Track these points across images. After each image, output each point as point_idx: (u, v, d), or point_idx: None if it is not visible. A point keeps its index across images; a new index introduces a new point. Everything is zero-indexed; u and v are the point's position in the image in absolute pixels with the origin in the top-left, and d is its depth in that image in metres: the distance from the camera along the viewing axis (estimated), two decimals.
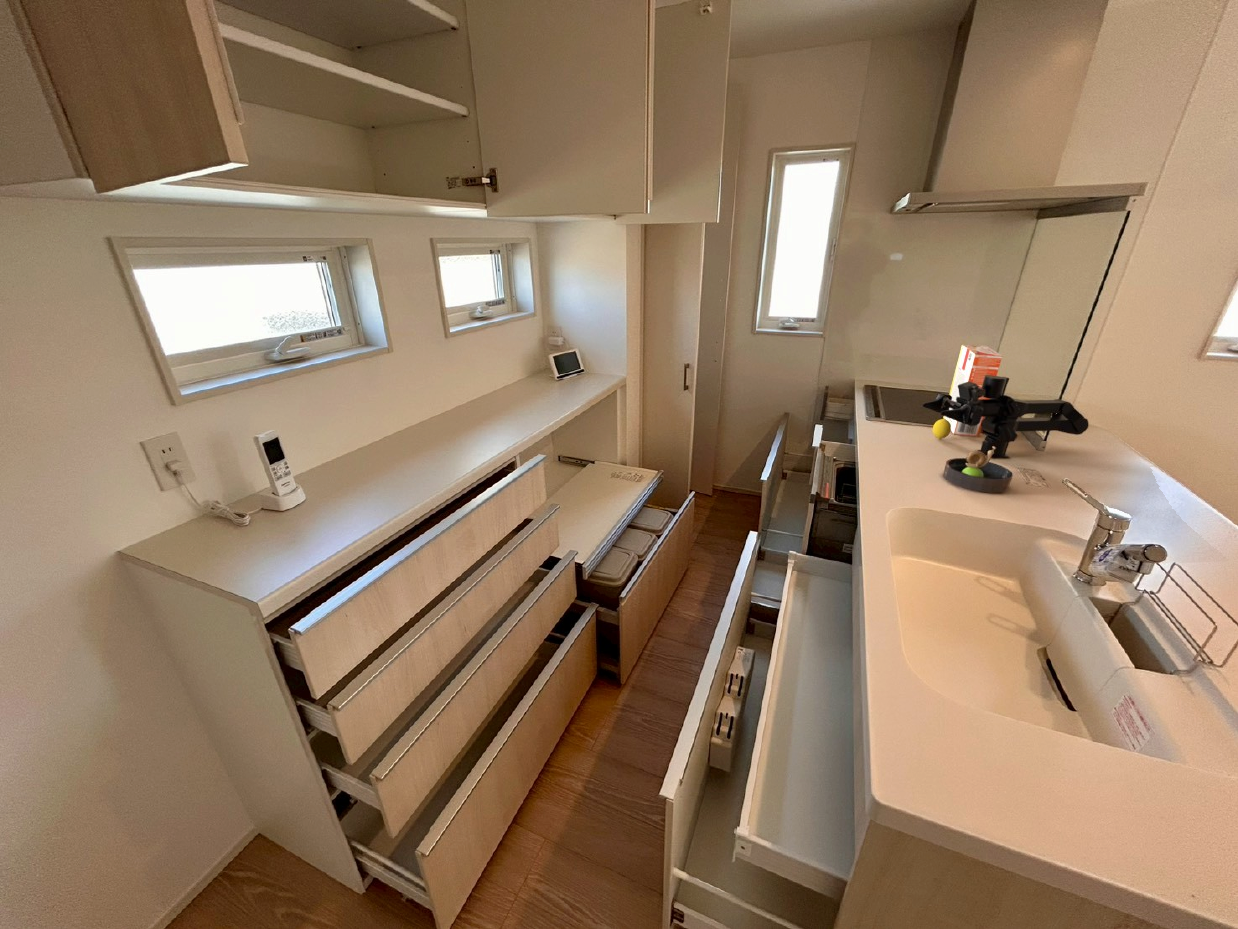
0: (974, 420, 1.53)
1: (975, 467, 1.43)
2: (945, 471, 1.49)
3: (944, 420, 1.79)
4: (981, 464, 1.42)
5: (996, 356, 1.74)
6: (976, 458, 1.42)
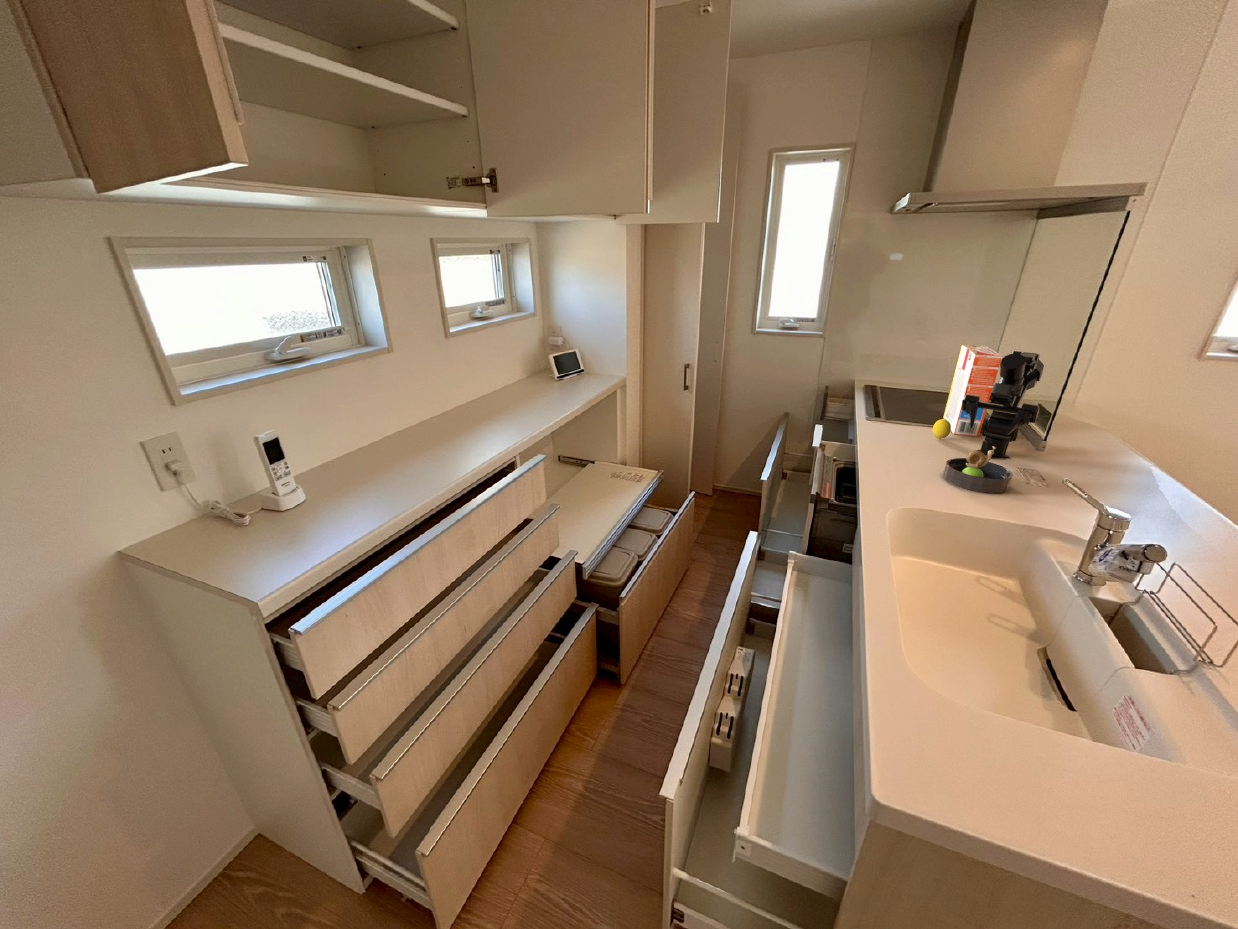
0: (1036, 418, 1.45)
1: (975, 467, 1.43)
2: (945, 471, 1.49)
3: (944, 420, 1.79)
4: (981, 464, 1.42)
5: (996, 356, 1.74)
6: (976, 458, 1.42)
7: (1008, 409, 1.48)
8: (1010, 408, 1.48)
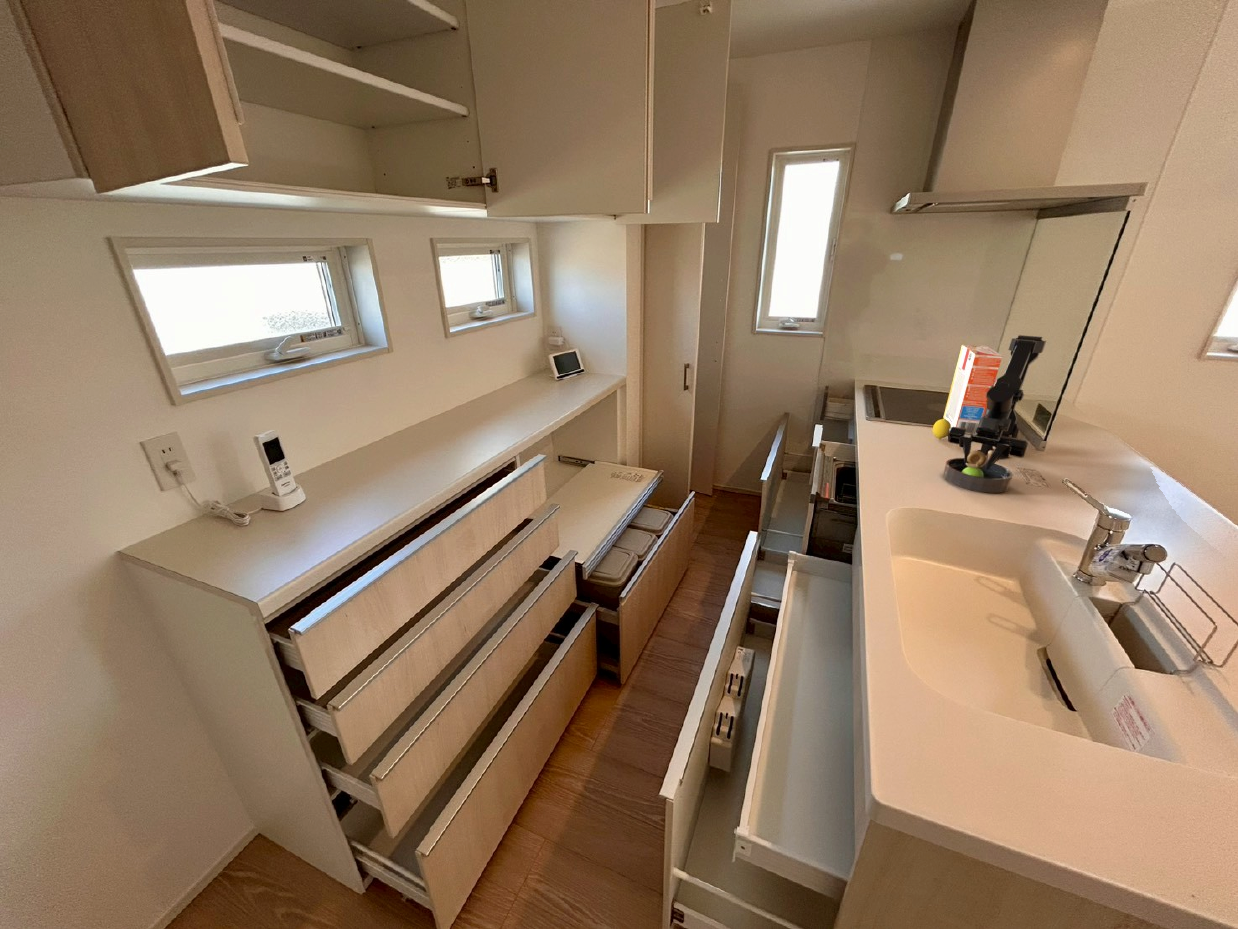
0: (1024, 453, 1.38)
1: (975, 467, 1.43)
2: (945, 471, 1.49)
3: (944, 420, 1.79)
4: (981, 464, 1.42)
5: (996, 356, 1.74)
6: (976, 458, 1.42)
7: (995, 443, 1.42)
8: (997, 442, 1.42)
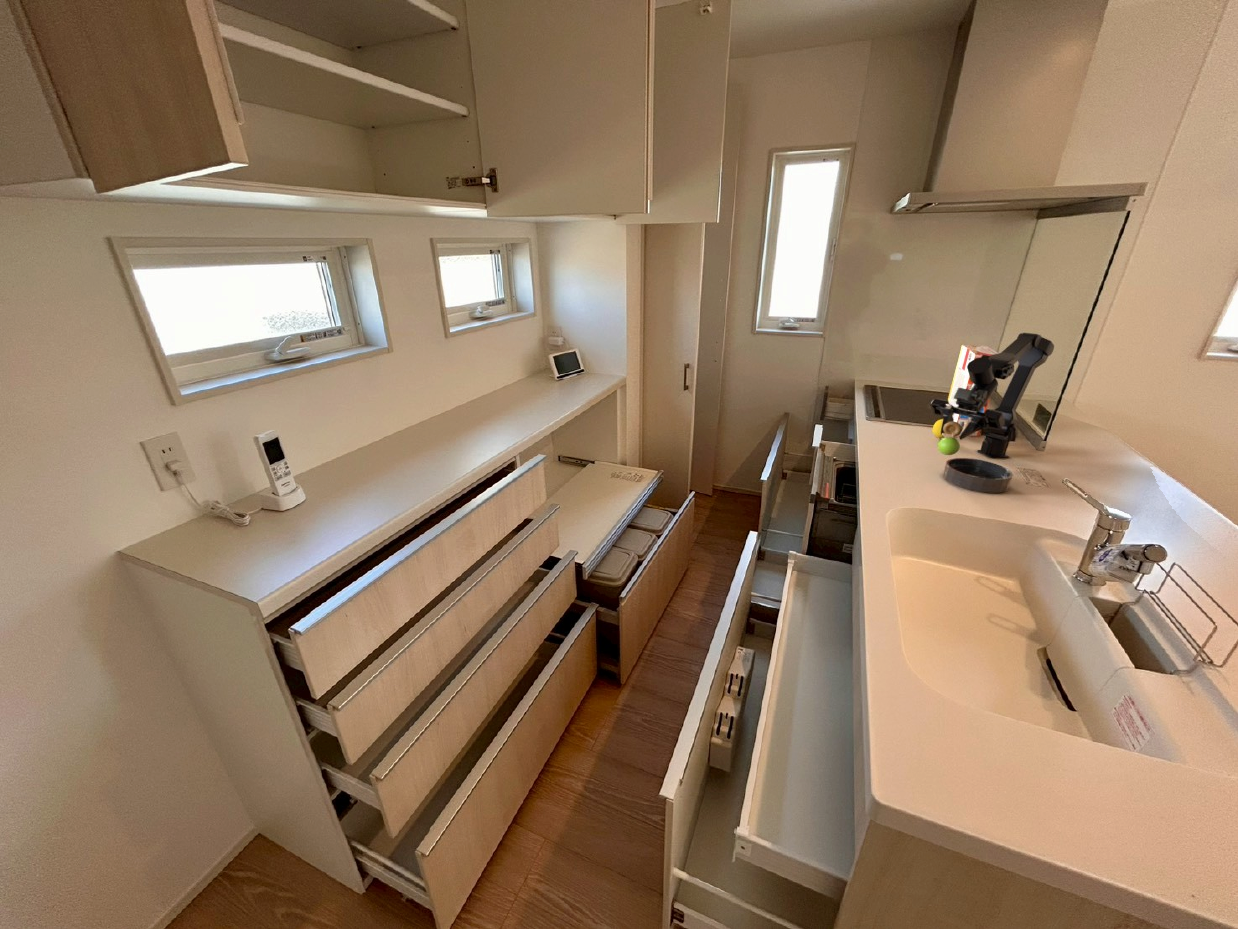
0: (1001, 425, 1.40)
1: (951, 437, 1.47)
2: (945, 471, 1.49)
3: None
4: (957, 434, 1.46)
5: None
6: (952, 428, 1.46)
7: (974, 414, 1.45)
8: (976, 414, 1.44)
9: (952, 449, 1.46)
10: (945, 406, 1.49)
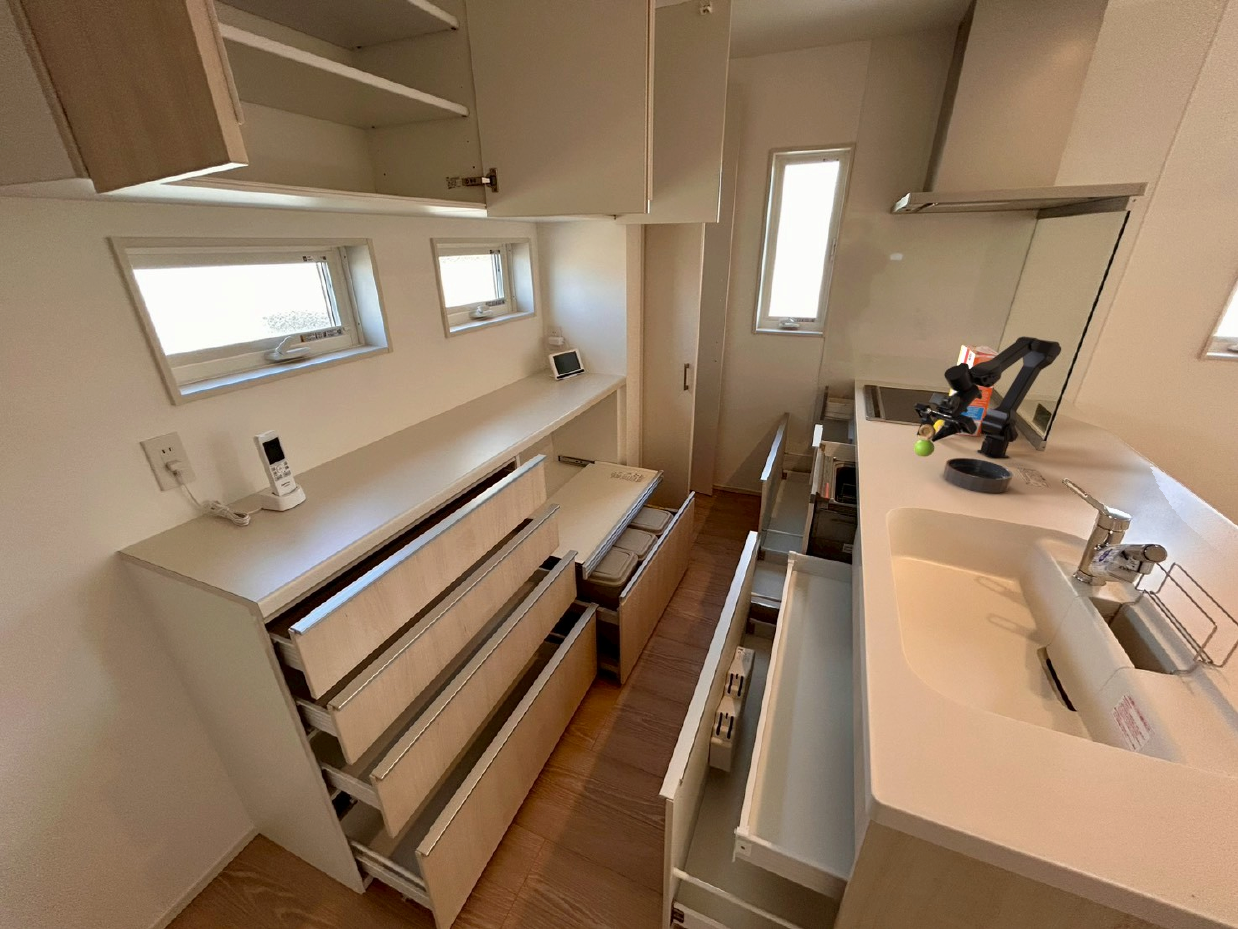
0: (971, 430, 1.46)
1: (925, 439, 1.55)
2: (945, 471, 1.49)
3: None
4: (931, 437, 1.53)
5: None
6: (927, 431, 1.54)
7: (949, 419, 1.51)
8: (951, 418, 1.51)
9: (924, 451, 1.54)
10: (925, 410, 1.57)
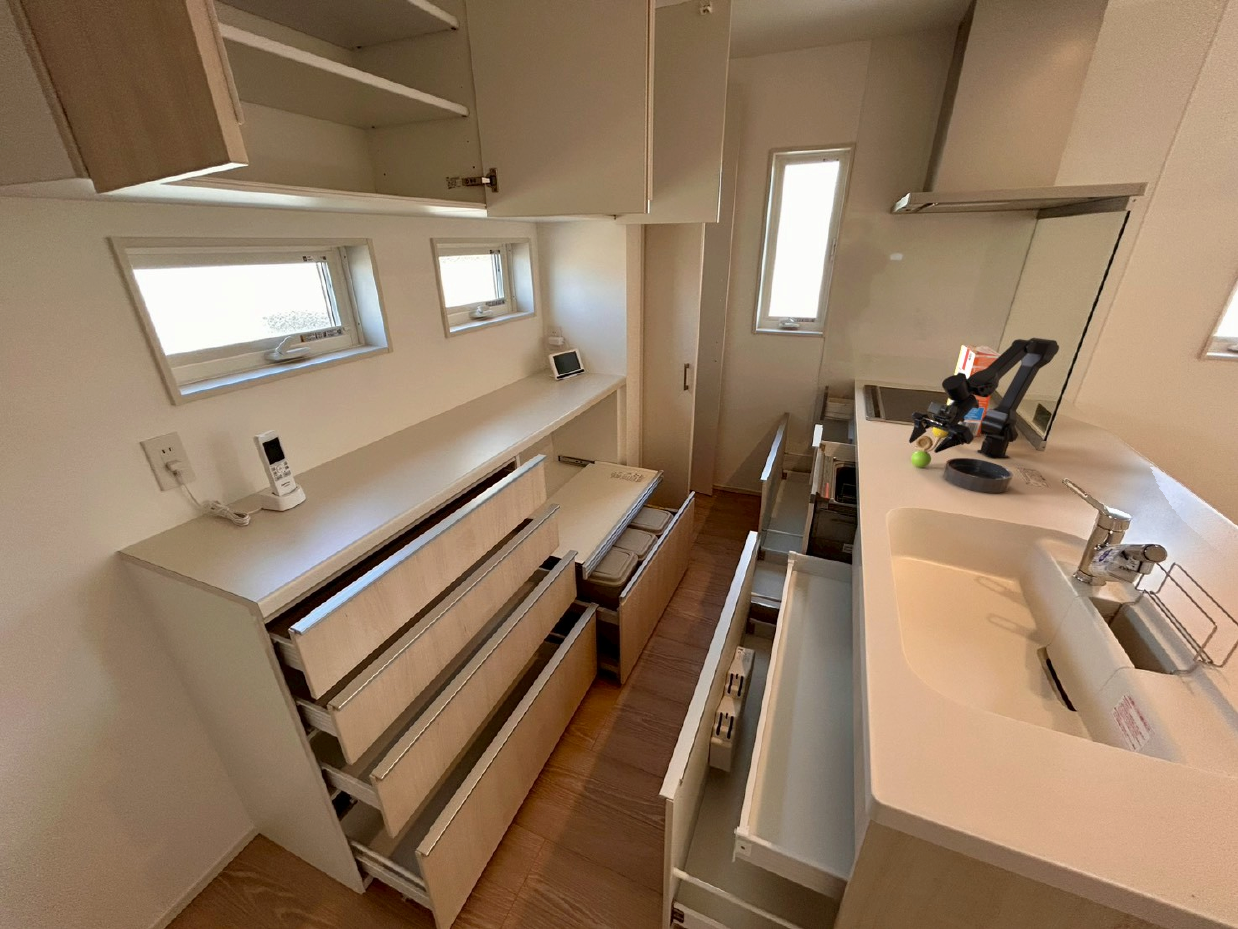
0: (968, 440, 1.47)
1: (922, 451, 1.56)
2: (945, 471, 1.49)
3: None
4: (928, 448, 1.55)
5: (996, 356, 1.74)
6: (924, 442, 1.56)
7: (947, 428, 1.53)
8: (949, 428, 1.52)
9: (921, 462, 1.55)
10: None
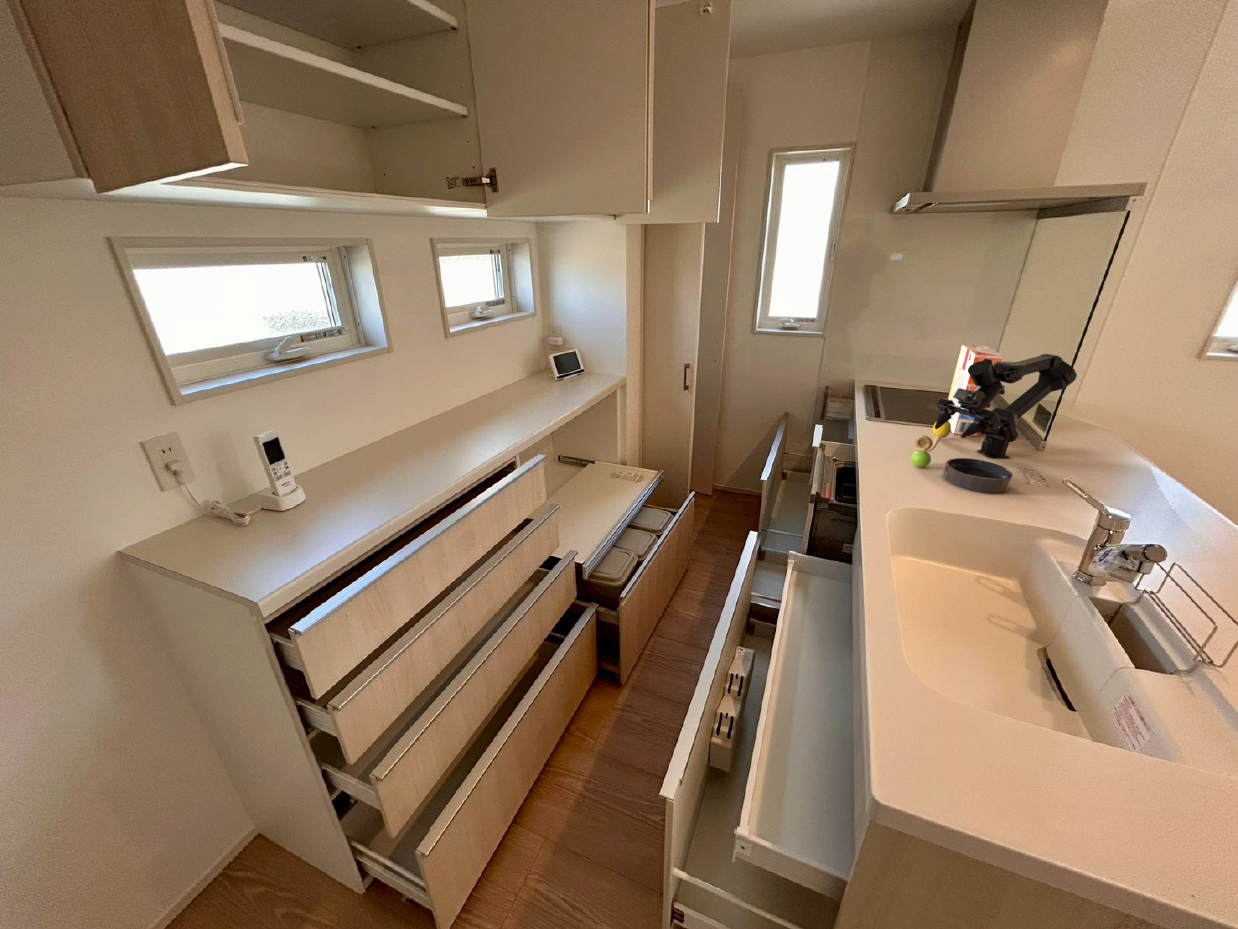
0: (995, 425, 1.49)
1: (922, 451, 1.56)
2: (945, 471, 1.49)
3: None
4: (927, 448, 1.55)
5: (996, 356, 1.74)
6: (924, 442, 1.56)
7: (973, 414, 1.55)
8: (975, 413, 1.54)
9: (921, 462, 1.55)
10: None
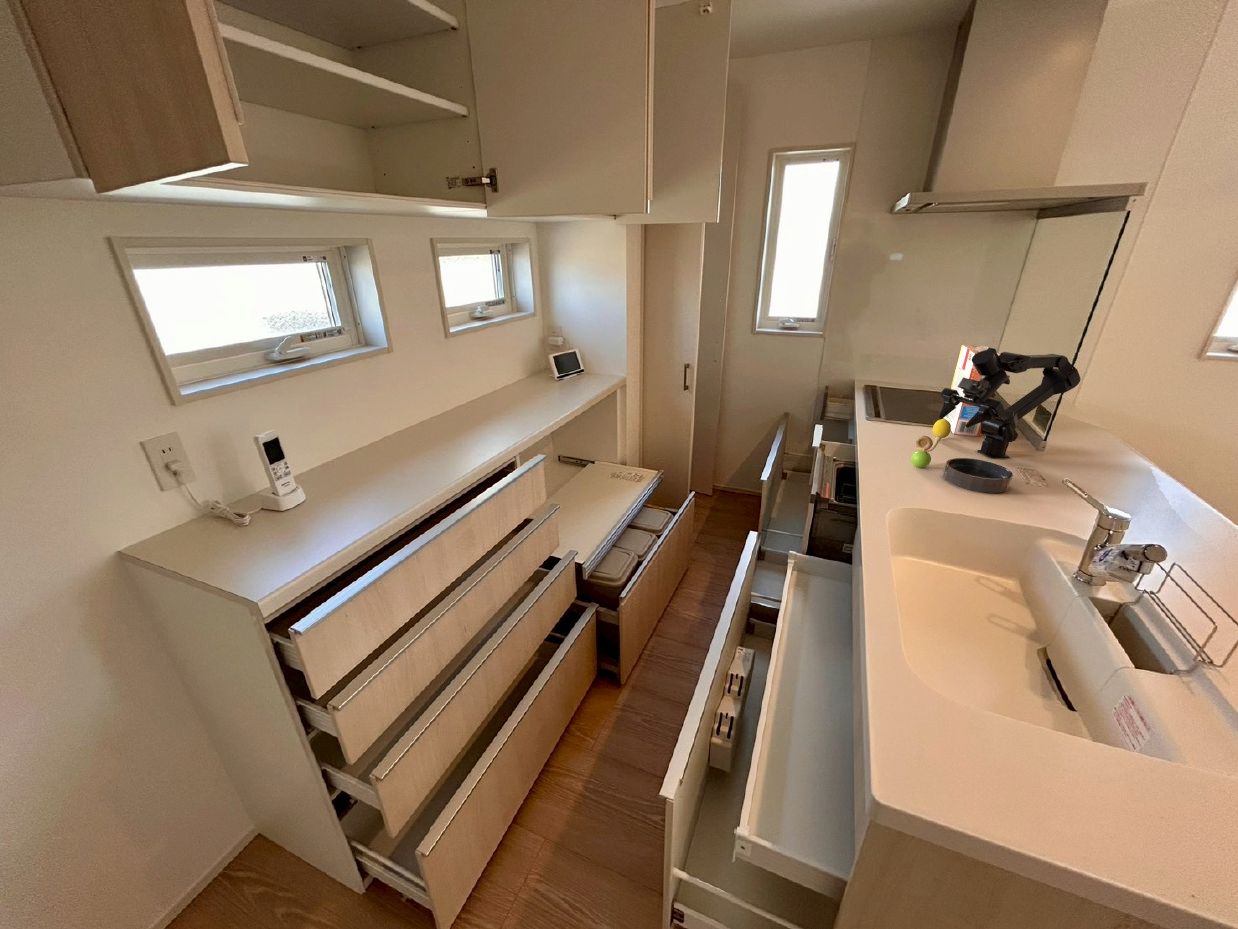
0: (1000, 414, 1.49)
1: (922, 451, 1.56)
2: (945, 471, 1.49)
3: (944, 420, 1.79)
4: (928, 448, 1.55)
5: None
6: (924, 442, 1.55)
7: (977, 404, 1.54)
8: (980, 403, 1.54)
9: (921, 462, 1.55)
10: None
